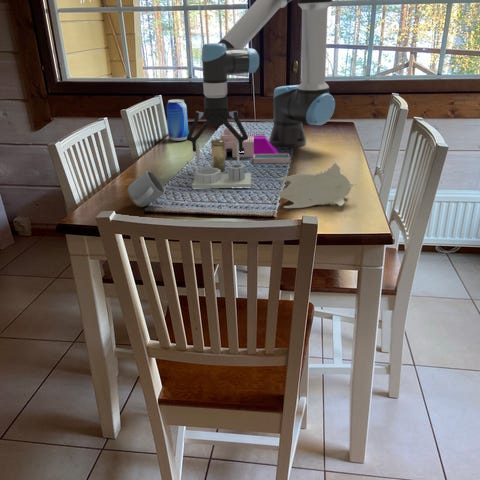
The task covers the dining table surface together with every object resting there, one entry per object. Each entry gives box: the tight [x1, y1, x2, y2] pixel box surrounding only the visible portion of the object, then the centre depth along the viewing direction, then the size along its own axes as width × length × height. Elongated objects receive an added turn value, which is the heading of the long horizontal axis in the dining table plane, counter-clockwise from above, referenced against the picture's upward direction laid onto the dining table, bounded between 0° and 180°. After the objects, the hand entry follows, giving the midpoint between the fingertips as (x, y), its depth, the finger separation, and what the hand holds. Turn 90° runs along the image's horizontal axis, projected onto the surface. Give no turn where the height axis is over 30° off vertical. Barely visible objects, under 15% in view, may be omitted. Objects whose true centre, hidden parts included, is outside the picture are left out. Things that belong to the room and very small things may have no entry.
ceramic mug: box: [126, 170, 166, 208], centre depth 127 cm, size 11×8×8 cm
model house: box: [219, 126, 291, 164], centre depth 170 cm, size 25×17×11 cm
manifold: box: [191, 163, 252, 189], centre depth 145 cm, size 18×11×6 cm, turn 89°
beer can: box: [165, 98, 189, 142], centre depth 196 cm, size 8×8×16 cm
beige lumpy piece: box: [278, 162, 358, 209], centre depth 129 cm, size 22×12×12 cm, turn 94°
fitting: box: [210, 138, 226, 172], centre depth 157 cm, size 4×4×10 cm
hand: (218, 160), depth 157 cm, fingers open, 13 cm apart
